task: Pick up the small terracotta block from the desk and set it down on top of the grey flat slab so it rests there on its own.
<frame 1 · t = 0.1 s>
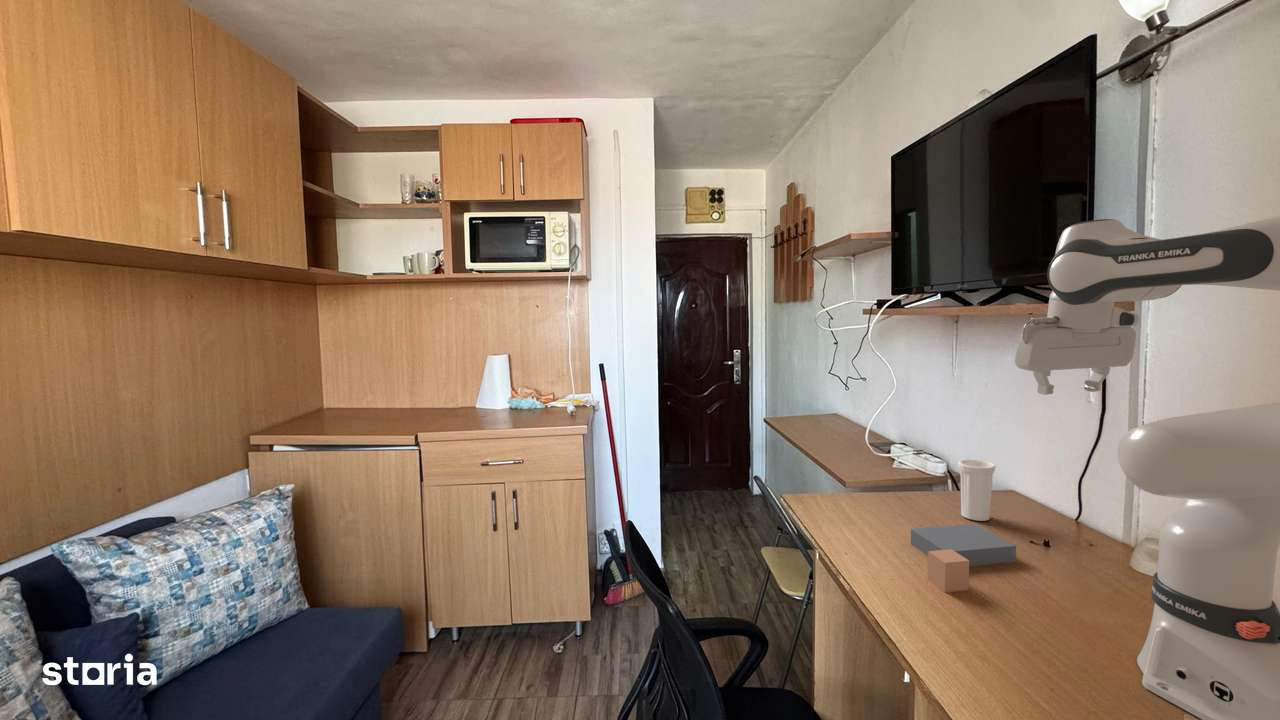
hand: (1068, 392, 96), 39 cm above the table, tool pointing down, fingers open, 8 cm apart
grey flat slab: (960, 554, 118), on the table
block: (947, 584, 105), on the table
cup: (975, 518, 137), on the table
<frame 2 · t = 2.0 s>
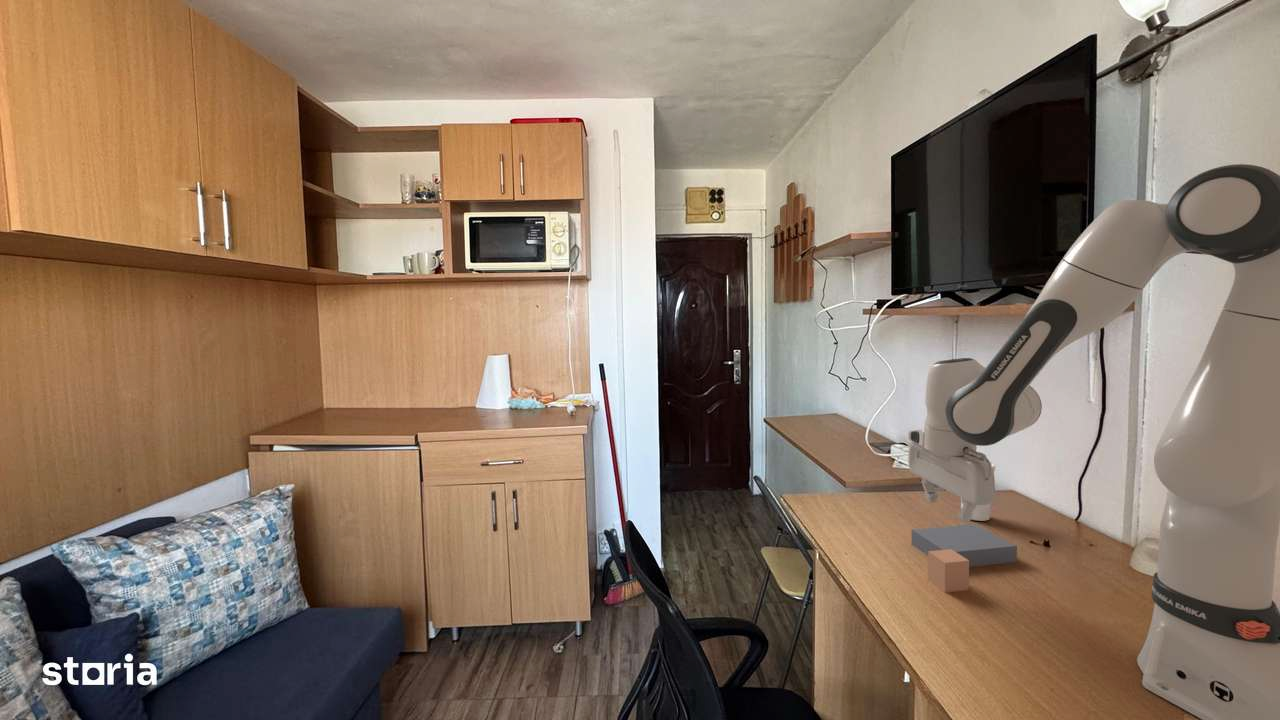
hand: (947, 510, 104), 15 cm above the table, tool pointing down, fingers open, 8 cm apart
nothing on the table moved.
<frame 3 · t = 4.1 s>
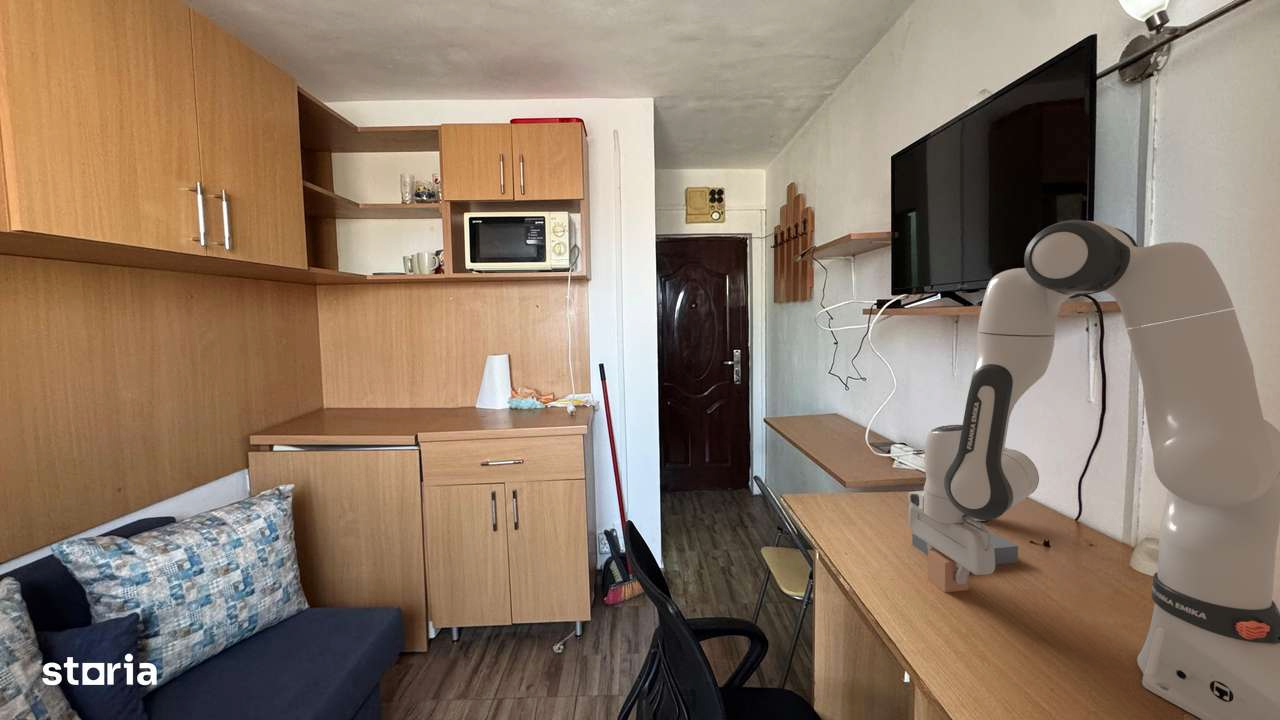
hand: (947, 574, 105), 2 cm above the table, tool pointing down, fingers closed on block, 5 cm apart
block: (947, 584, 105), on the table, touching gripper
everything else where it was.
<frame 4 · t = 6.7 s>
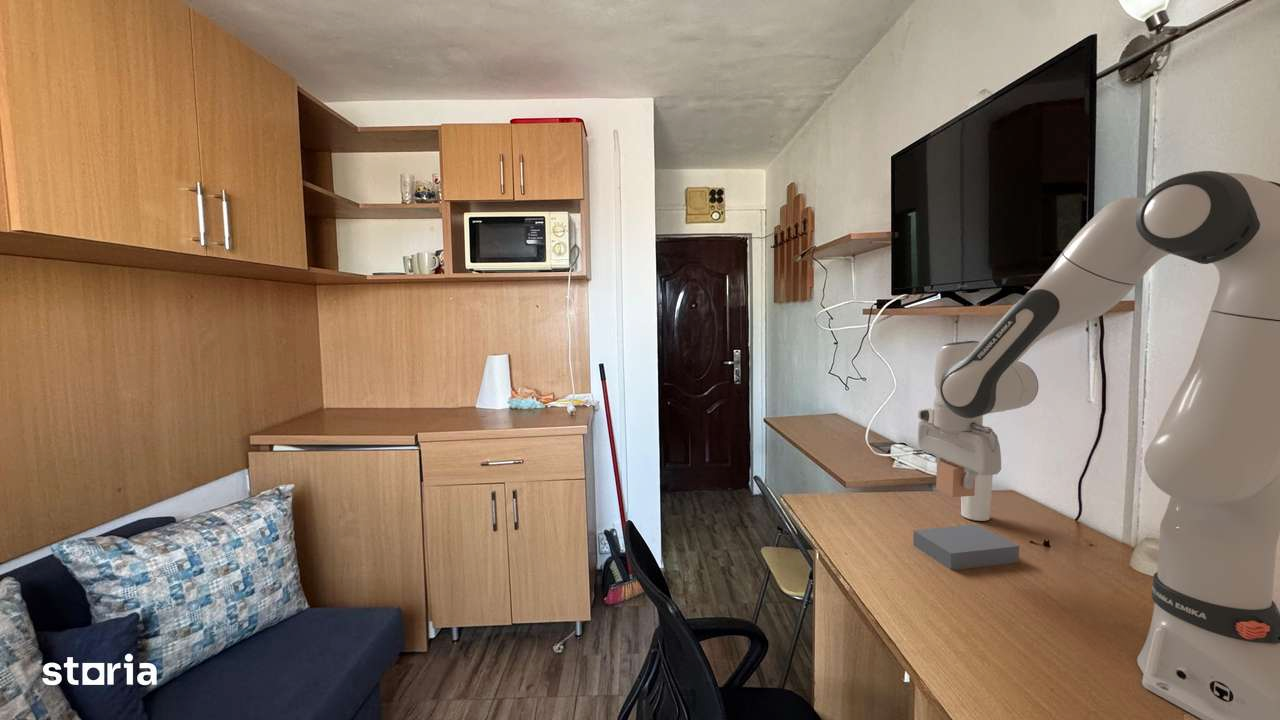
hand: (955, 482, 112), 18 cm above the table, tool pointing down, fingers closed on block, 5 cm apart
block: (954, 492, 112), point 16 cm above the table, touching gripper
everything else where it was.
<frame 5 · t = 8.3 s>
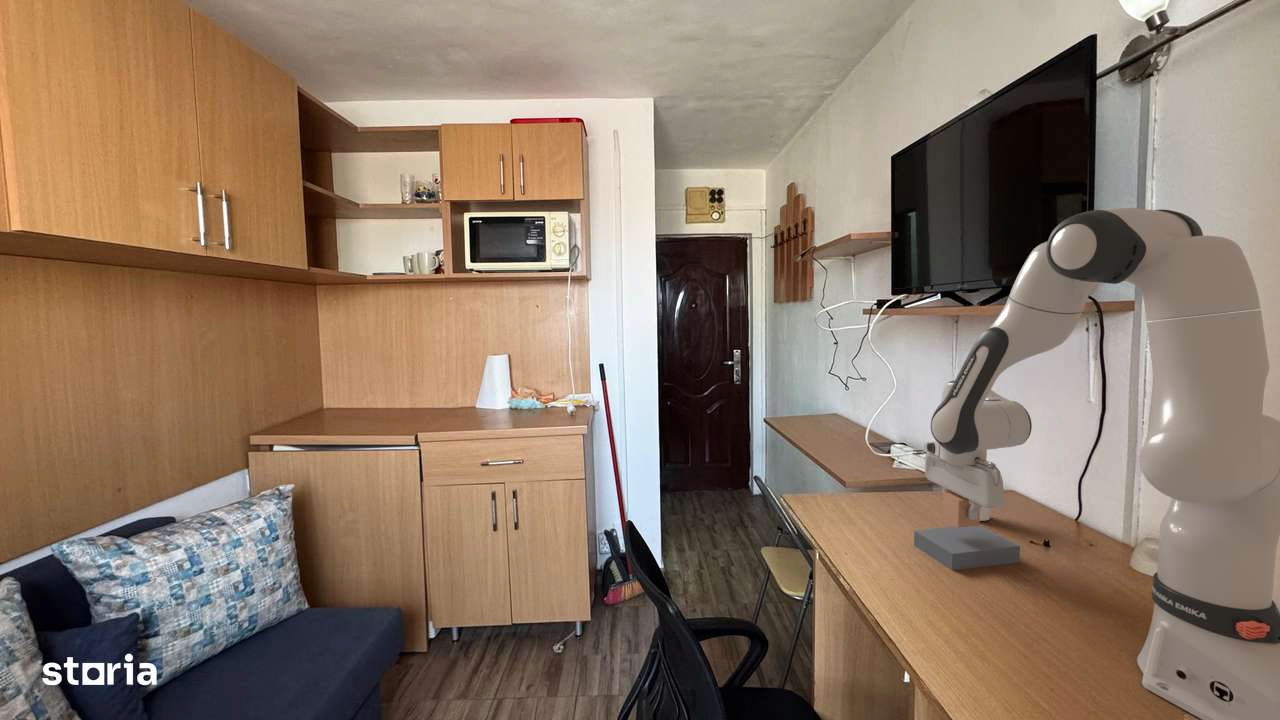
hand: (961, 512, 118), 9 cm above the table, tool pointing down, fingers closed on block, 5 cm apart
block: (960, 522, 118), point 7 cm above the table, touching gripper
everything else where it was.
when the fingers open (8 cm above the table, at t = 9.4 s): block drops 2 cm, point 3 cm above the table.
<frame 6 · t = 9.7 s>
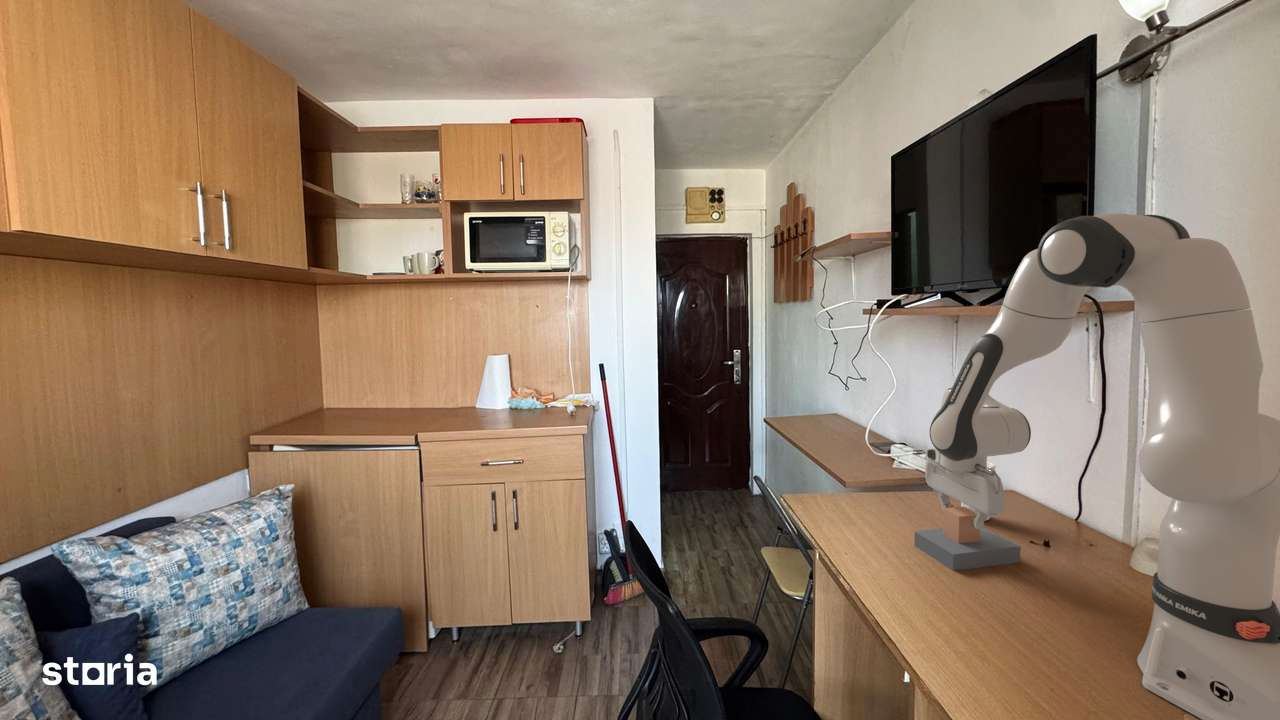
hand: (961, 519, 118), 8 cm above the table, tool pointing down, fingers open, 8 cm apart
block: (961, 537, 118), point 3 cm above the table
everything else where it was.
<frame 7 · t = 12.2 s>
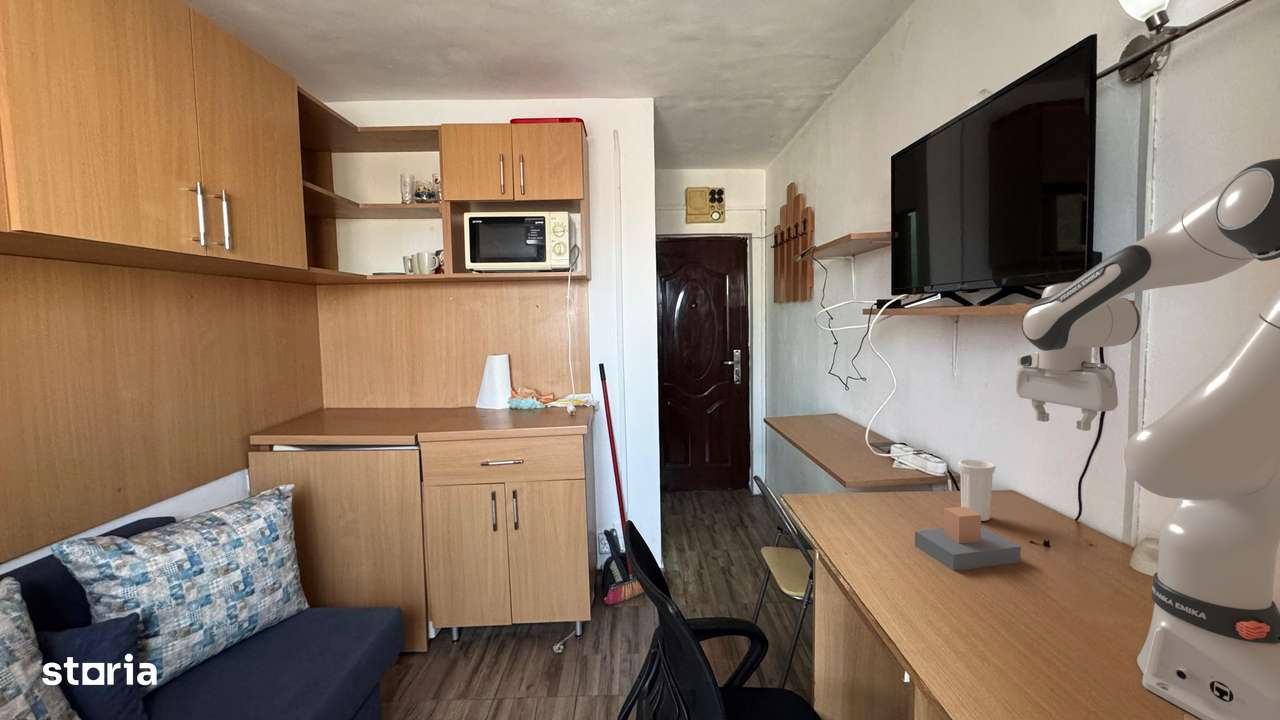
hand: (1062, 425, 112), 29 cm above the table, tool pointing down, fingers open, 8 cm apart
nothing on the table moved.
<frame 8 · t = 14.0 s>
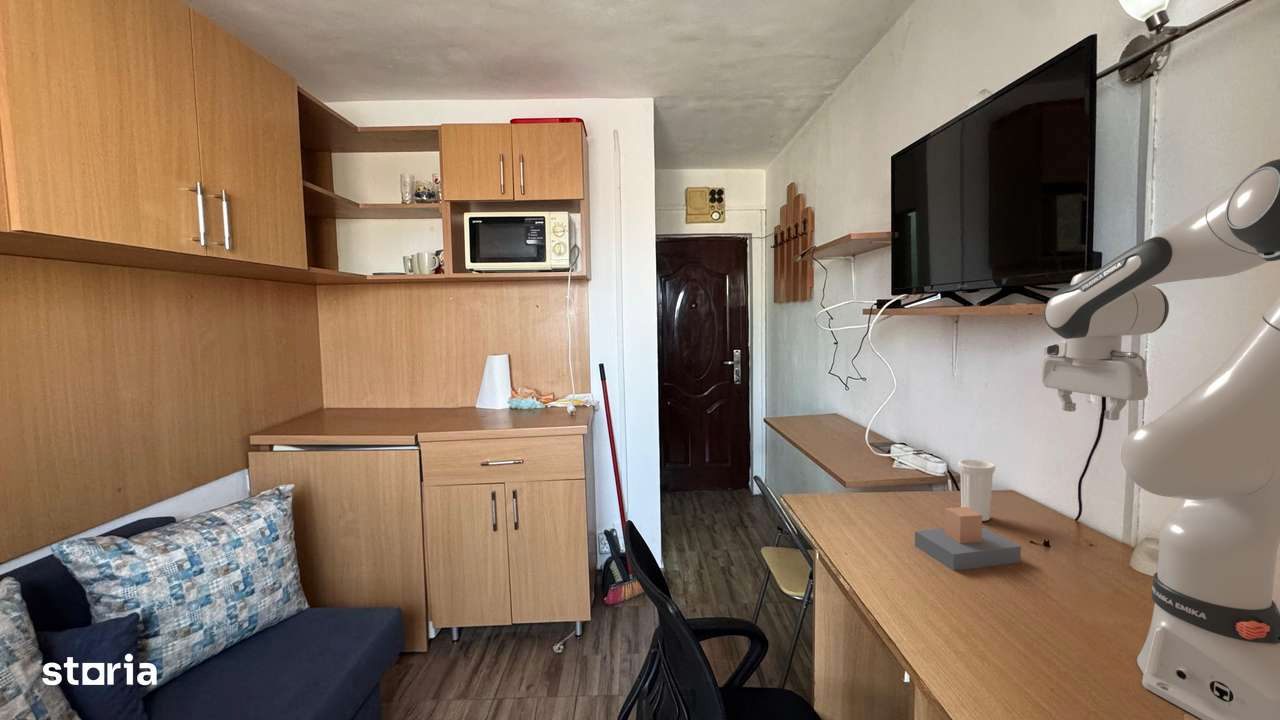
hand: (1089, 415, 111), 31 cm above the table, tool pointing down, fingers open, 8 cm apart
grey flat slab: (965, 555, 118), on the table, touching block
block: (962, 537, 118), point 3 cm above the table, touching grey flat slab
everything else where it was.
at the end: block inside the target area on the grey flat slab (0.6 cm from its centre), point 4.0 cm above the grey flat slab's base; block touching grey flat slab; the gripper is holding nothing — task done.
